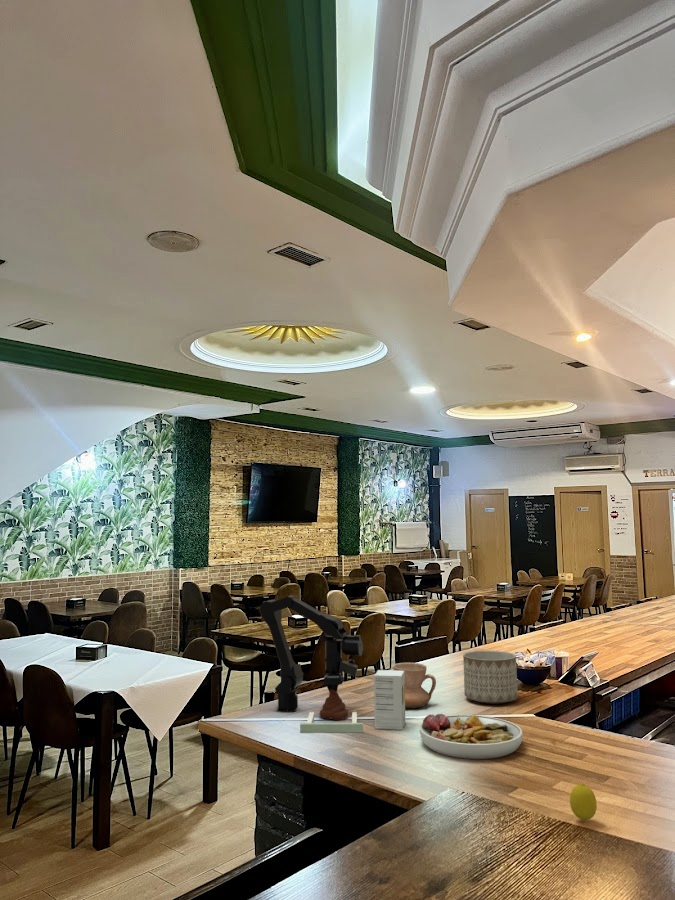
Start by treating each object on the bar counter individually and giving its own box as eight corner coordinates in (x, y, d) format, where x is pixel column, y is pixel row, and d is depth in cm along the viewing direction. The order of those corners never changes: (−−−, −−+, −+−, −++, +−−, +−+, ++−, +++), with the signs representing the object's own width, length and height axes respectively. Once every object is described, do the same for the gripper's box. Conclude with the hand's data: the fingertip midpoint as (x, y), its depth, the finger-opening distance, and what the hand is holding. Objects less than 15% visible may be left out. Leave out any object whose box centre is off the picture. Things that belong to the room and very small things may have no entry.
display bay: (300, 732, 216) (300, 724, 216) (303, 719, 230) (303, 712, 230) (363, 732, 215) (362, 724, 215) (362, 719, 229) (362, 711, 230)
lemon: (566, 817, 151) (564, 779, 152) (590, 815, 151) (588, 778, 152) (577, 827, 146) (575, 788, 146) (602, 826, 146) (600, 787, 147)
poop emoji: (315, 719, 230) (315, 691, 231) (325, 712, 238) (324, 685, 239) (343, 722, 227) (343, 693, 228) (351, 715, 235) (351, 687, 236)
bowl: (526, 735, 211) (525, 709, 212) (518, 768, 183) (517, 737, 184) (431, 727, 221) (430, 702, 222) (409, 757, 192) (409, 728, 193)
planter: (499, 692, 265) (498, 649, 267) (528, 704, 247) (526, 657, 249) (455, 696, 259) (454, 652, 261) (481, 709, 241) (479, 661, 243)
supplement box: (402, 730, 217) (401, 676, 218) (374, 729, 218) (373, 675, 220) (405, 722, 226) (404, 670, 228) (378, 720, 228) (377, 669, 230)
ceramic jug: (386, 710, 240) (386, 669, 242) (386, 699, 255) (386, 661, 256) (437, 712, 239) (437, 670, 240) (434, 701, 253) (434, 662, 255)
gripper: (356, 659, 230) (357, 706, 228) (356, 649, 249) (356, 693, 247) (323, 659, 230) (324, 707, 229) (325, 649, 249) (326, 693, 247)
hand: (334, 699), depth 238 cm, fingers closed
